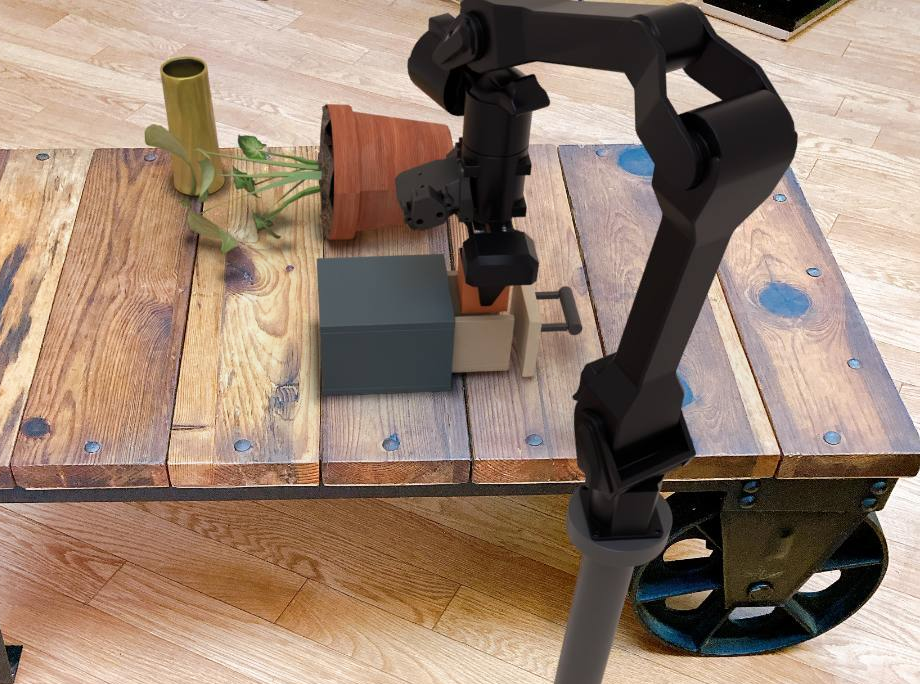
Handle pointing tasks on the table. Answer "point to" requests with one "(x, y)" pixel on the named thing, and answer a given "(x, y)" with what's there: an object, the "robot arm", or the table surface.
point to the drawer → (507, 330)
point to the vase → (191, 120)
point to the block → (477, 296)
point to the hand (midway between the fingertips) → (482, 289)
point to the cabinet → (385, 324)
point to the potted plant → (329, 170)
